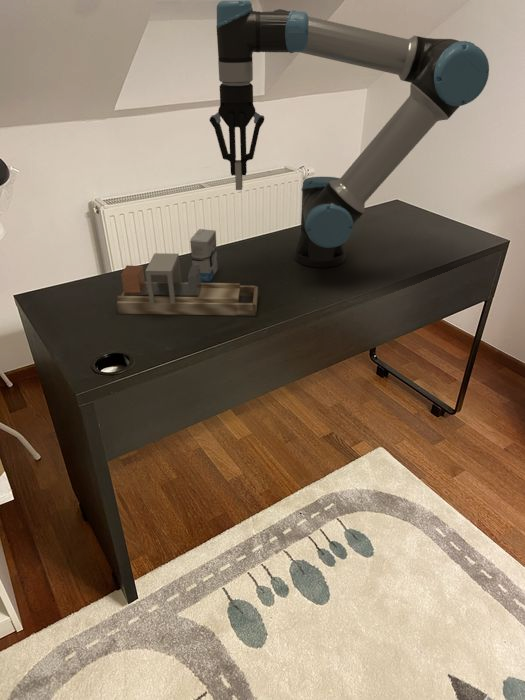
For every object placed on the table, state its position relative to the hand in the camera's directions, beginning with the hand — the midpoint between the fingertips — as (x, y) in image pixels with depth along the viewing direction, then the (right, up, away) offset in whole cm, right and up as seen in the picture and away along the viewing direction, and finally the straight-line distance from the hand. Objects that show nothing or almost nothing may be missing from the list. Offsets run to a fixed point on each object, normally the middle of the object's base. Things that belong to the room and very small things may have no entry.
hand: (239, 188), depth 131 cm
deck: (-12, -29, +1) cm, 31 cm away
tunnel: (-18, -26, -1) cm, 32 cm away
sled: (-19, -26, -1) cm, 32 cm away
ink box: (-10, -20, +15) cm, 27 cm away
